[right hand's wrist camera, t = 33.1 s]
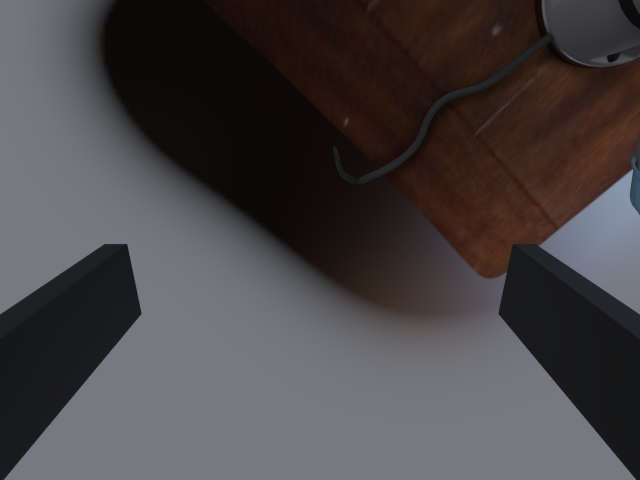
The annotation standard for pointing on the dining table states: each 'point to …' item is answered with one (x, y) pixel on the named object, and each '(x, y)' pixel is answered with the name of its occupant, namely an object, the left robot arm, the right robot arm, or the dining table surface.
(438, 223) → the dining table surface
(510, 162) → the dining table surface
